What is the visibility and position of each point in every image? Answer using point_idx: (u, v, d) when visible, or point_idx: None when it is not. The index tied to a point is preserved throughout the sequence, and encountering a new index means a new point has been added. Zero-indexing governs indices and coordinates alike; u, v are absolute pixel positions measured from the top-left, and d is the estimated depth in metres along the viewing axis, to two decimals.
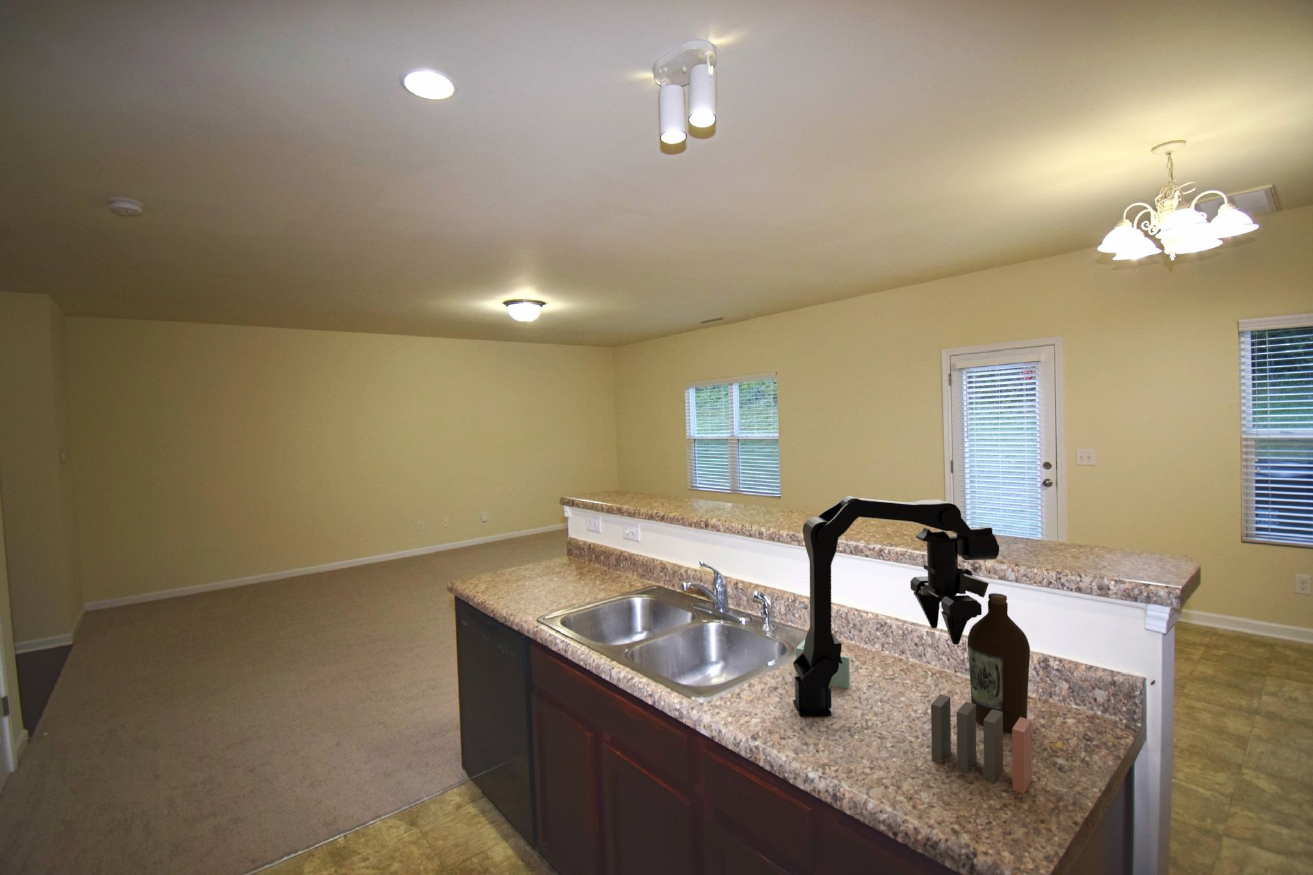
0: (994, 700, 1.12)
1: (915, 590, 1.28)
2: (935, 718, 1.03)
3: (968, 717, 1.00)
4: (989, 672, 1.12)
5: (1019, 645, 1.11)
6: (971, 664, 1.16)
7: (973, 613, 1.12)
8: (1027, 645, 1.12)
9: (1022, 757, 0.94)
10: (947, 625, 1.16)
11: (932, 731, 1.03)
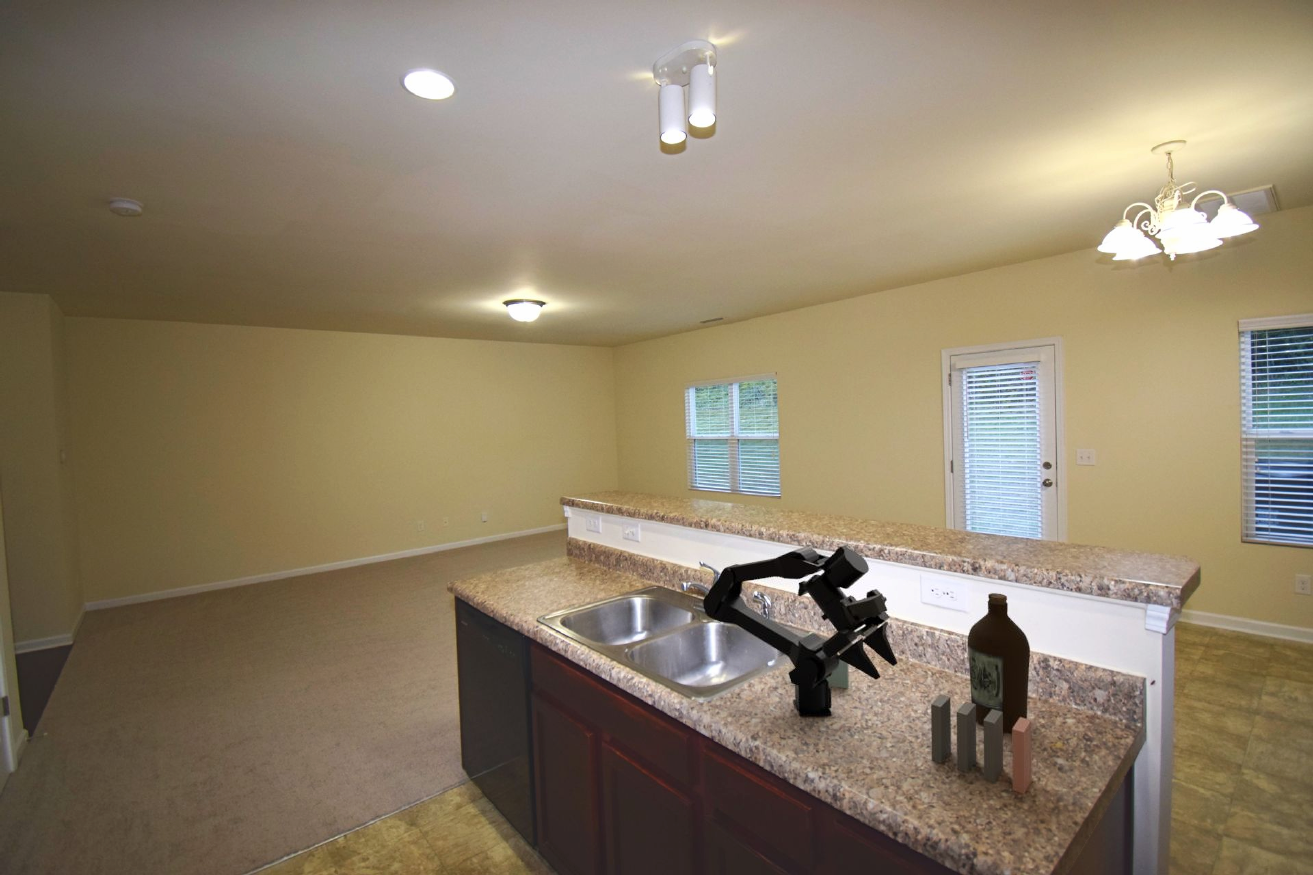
0: (994, 700, 1.12)
1: None
2: (935, 718, 1.03)
3: (968, 717, 1.00)
4: (989, 672, 1.12)
5: (1019, 645, 1.11)
6: (971, 664, 1.16)
7: (841, 646, 1.07)
8: (1027, 645, 1.12)
9: (1022, 757, 0.94)
10: None
11: (932, 731, 1.03)
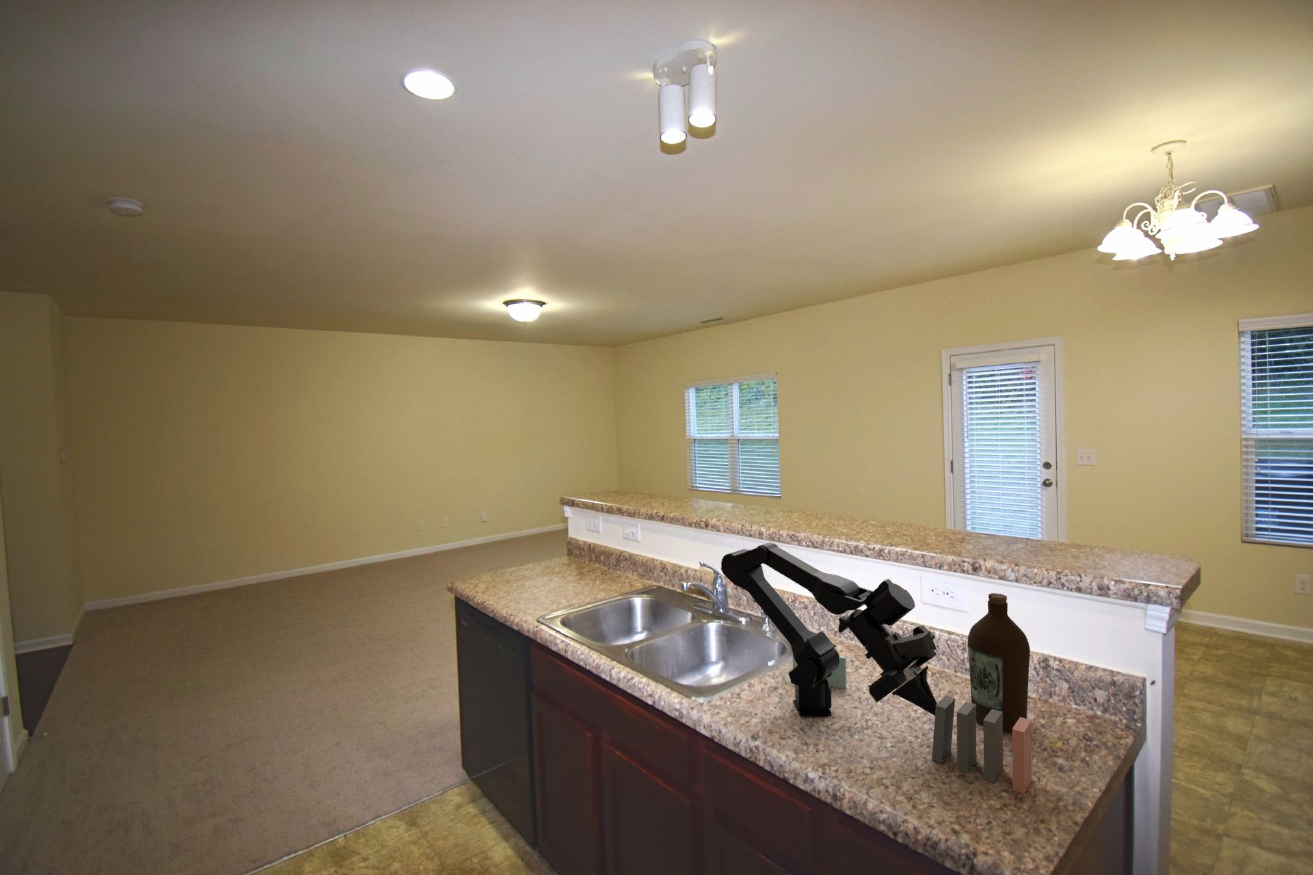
0: (994, 700, 1.12)
1: None
2: (939, 719, 1.02)
3: (968, 717, 1.00)
4: (989, 672, 1.12)
5: (1019, 645, 1.11)
6: (971, 664, 1.16)
7: (890, 689, 1.01)
8: (1027, 645, 1.12)
9: (1022, 757, 0.93)
10: None
11: (934, 731, 1.03)
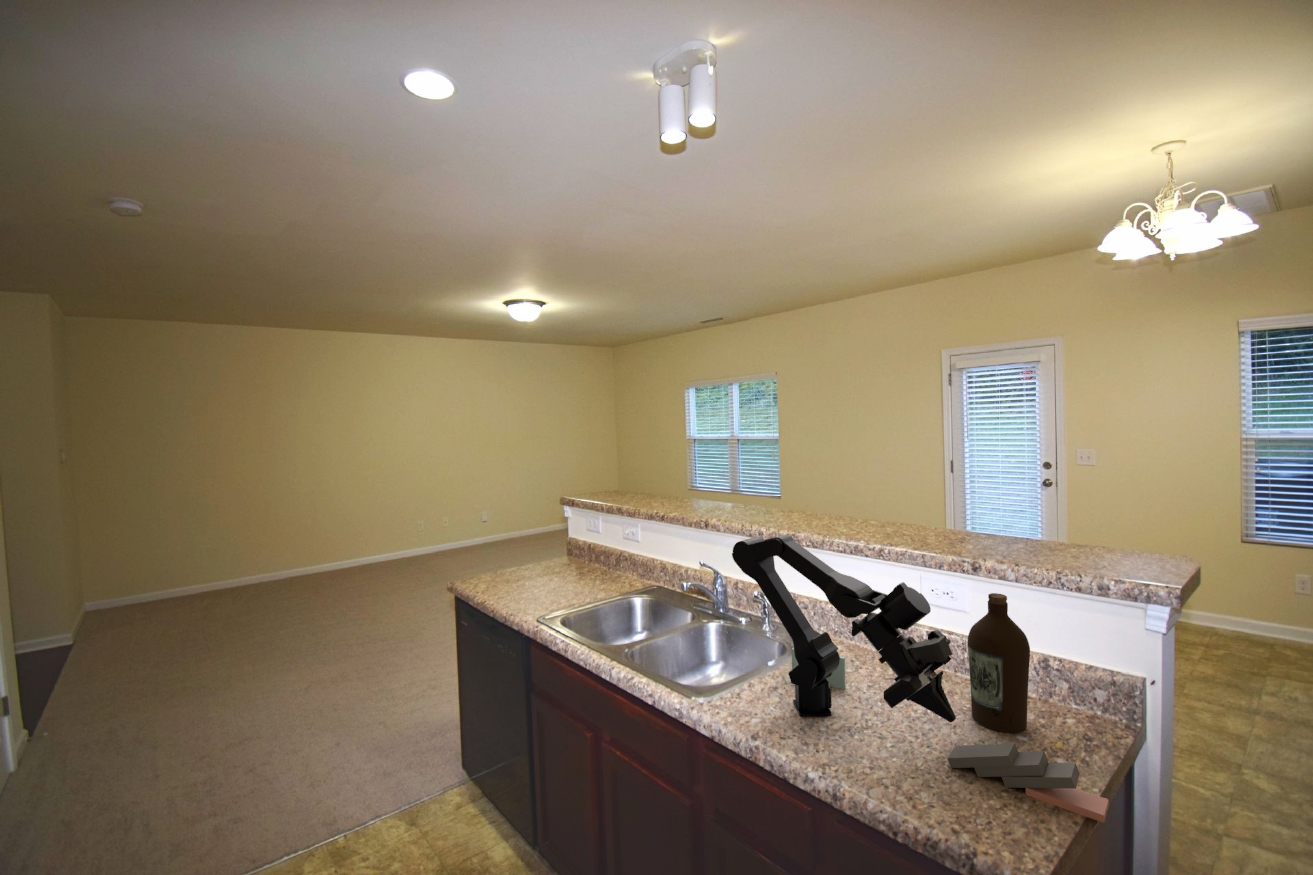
0: (994, 700, 1.12)
1: None
2: (995, 760, 0.96)
3: None
4: (989, 672, 1.12)
5: (1019, 645, 1.11)
6: (971, 664, 1.16)
7: (905, 695, 0.99)
8: (1027, 645, 1.12)
9: None
10: None
11: (978, 757, 0.98)
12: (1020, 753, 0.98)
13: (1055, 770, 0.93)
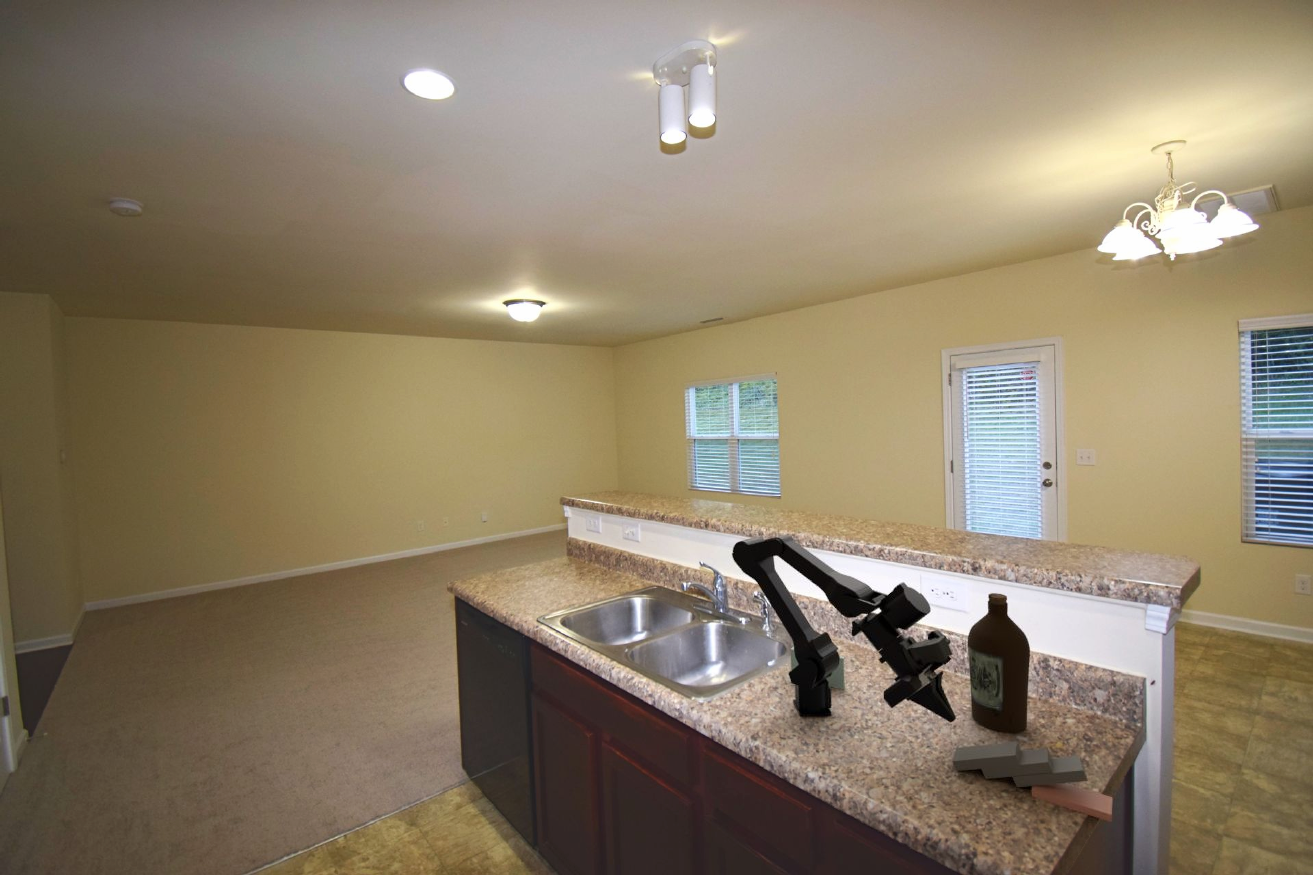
0: (994, 700, 1.12)
1: None
2: (1001, 760, 0.96)
3: None
4: (989, 672, 1.12)
5: (1019, 645, 1.11)
6: (971, 664, 1.16)
7: (905, 695, 0.99)
8: (1027, 645, 1.12)
9: None
10: None
11: (984, 759, 0.97)
12: (1024, 751, 0.98)
13: (1063, 764, 0.94)
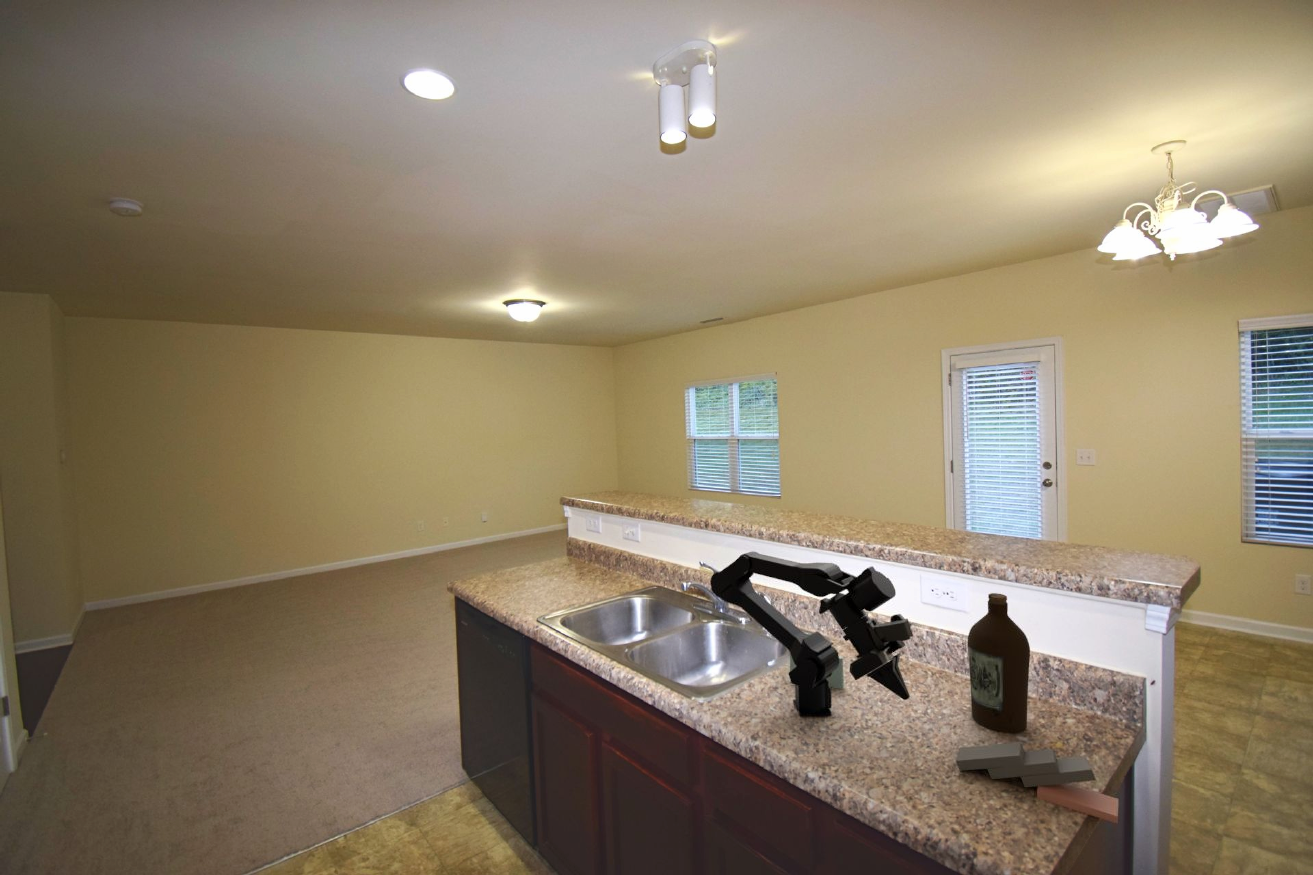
0: (994, 700, 1.12)
1: None
2: (1005, 761, 0.96)
3: None
4: (989, 672, 1.12)
5: (1019, 645, 1.11)
6: (971, 664, 1.16)
7: (872, 667, 1.04)
8: (1027, 645, 1.12)
9: None
10: None
11: (988, 759, 0.97)
12: (1029, 752, 0.98)
13: (1070, 764, 0.94)
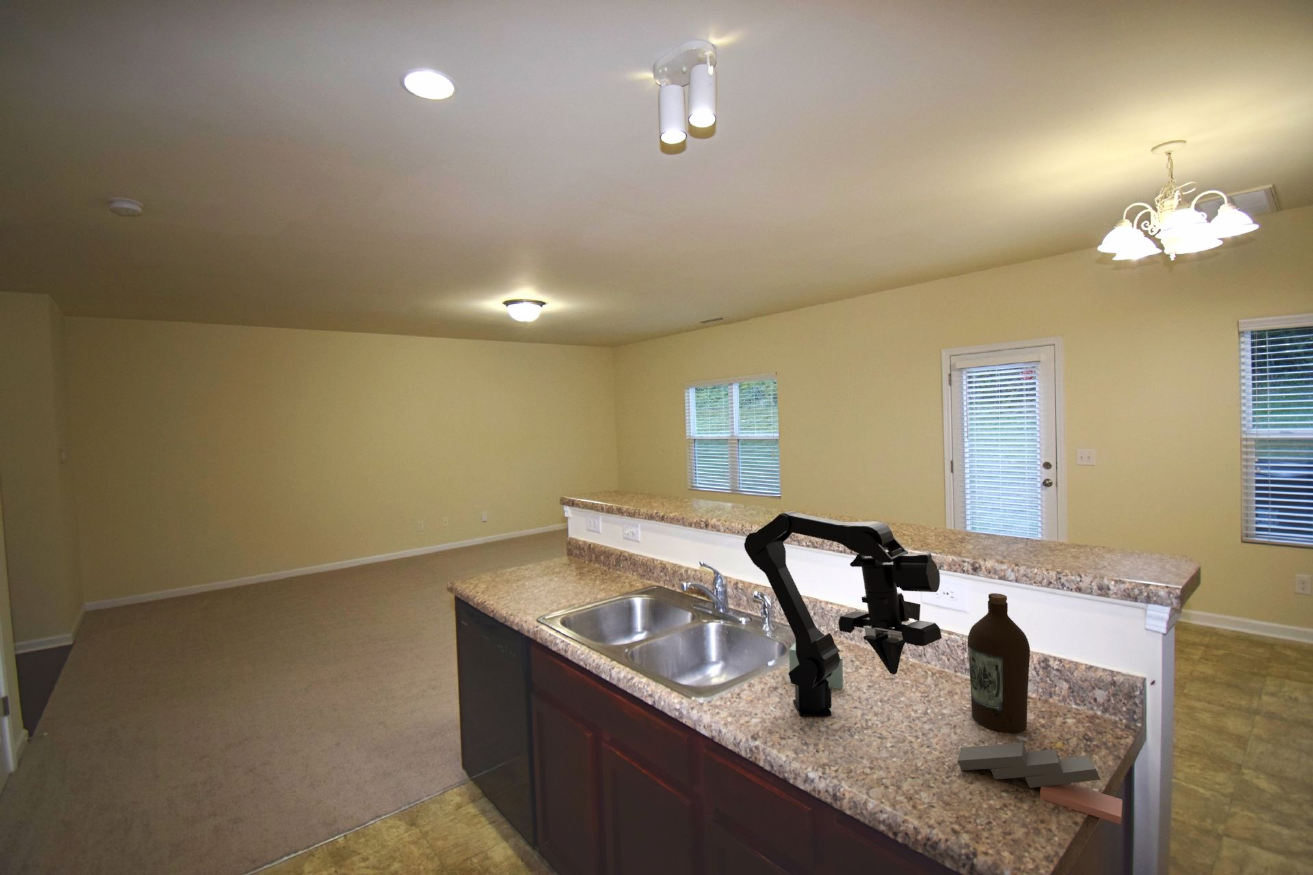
0: (994, 700, 1.12)
1: (849, 630, 1.14)
2: (1008, 761, 0.96)
3: None
4: (989, 672, 1.12)
5: (1019, 645, 1.11)
6: (971, 664, 1.16)
7: (937, 638, 1.03)
8: (1027, 645, 1.12)
9: None
10: (889, 654, 1.08)
11: (990, 759, 0.97)
12: (1032, 752, 0.98)
13: (1074, 764, 0.94)
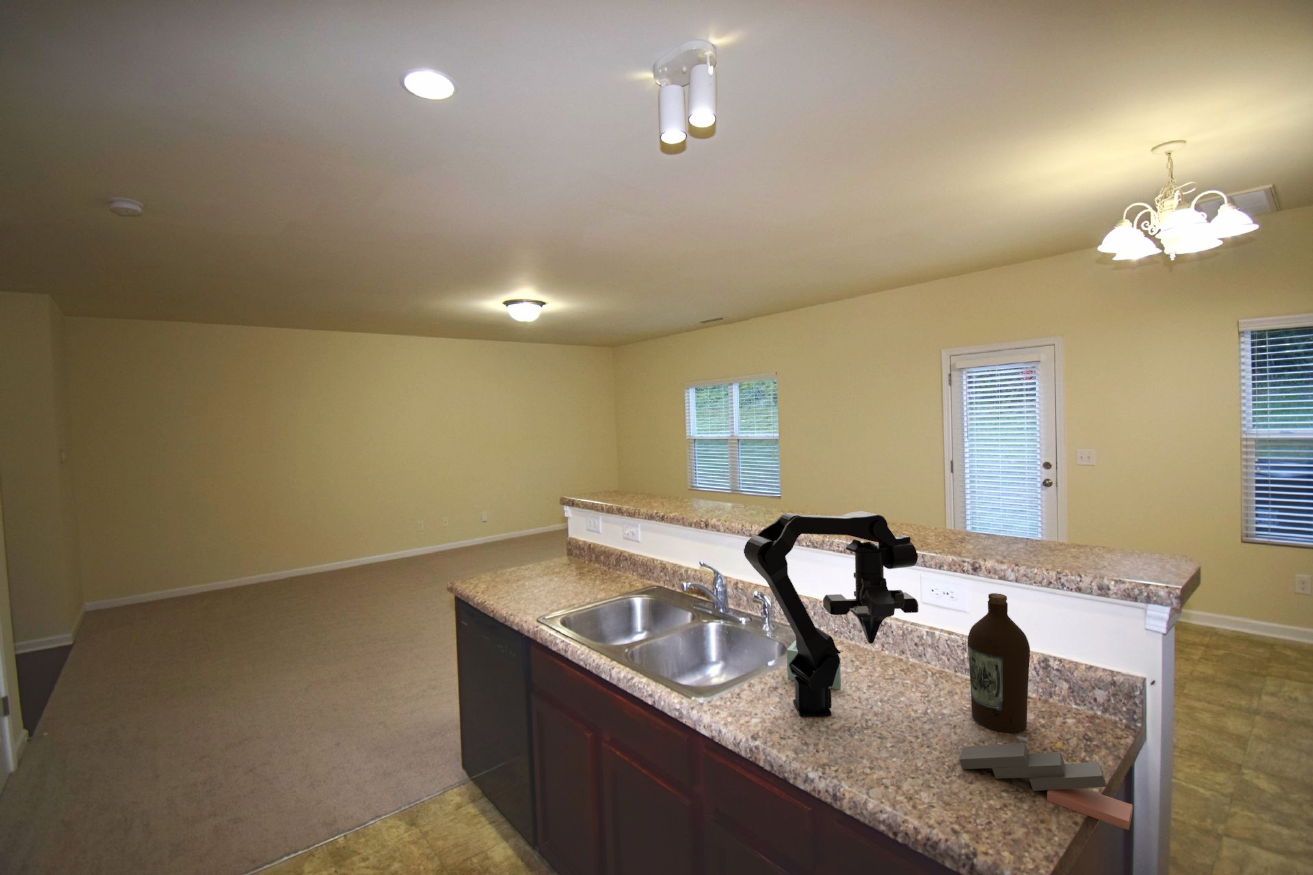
0: (994, 700, 1.12)
1: None
2: (1009, 761, 0.96)
3: None
4: (989, 672, 1.12)
5: (1019, 645, 1.11)
6: (971, 664, 1.16)
7: (828, 610, 1.25)
8: (1027, 645, 1.12)
9: None
10: None
11: (991, 758, 0.98)
12: (1036, 754, 0.98)
13: (1081, 769, 0.92)
